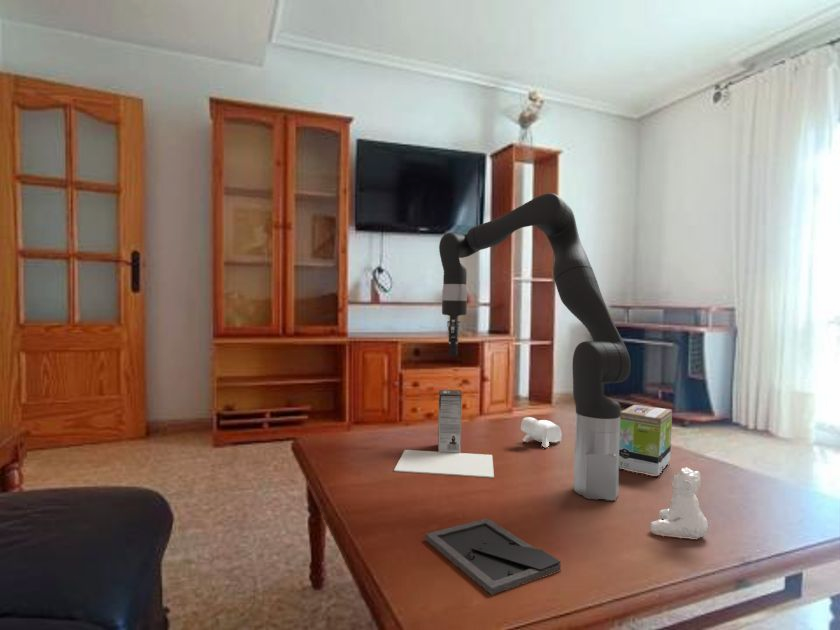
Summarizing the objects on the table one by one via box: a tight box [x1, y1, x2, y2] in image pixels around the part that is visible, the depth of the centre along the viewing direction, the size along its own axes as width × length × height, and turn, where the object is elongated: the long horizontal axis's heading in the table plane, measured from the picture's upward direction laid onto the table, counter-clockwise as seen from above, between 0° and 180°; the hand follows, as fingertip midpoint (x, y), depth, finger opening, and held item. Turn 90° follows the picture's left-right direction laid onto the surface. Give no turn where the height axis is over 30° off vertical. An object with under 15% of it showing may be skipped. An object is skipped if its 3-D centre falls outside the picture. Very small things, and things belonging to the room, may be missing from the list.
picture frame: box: [425, 517, 562, 596], centre depth 77 cm, size 13×2×18 cm
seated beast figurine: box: [650, 466, 709, 539], centre depth 86 cm, size 10×9×12 cm
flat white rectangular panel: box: [393, 449, 495, 479], centre depth 122 cm, size 17×24×1 cm
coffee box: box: [437, 389, 463, 453], centre depth 135 cm, size 9×6×16 cm
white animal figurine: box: [520, 416, 563, 448], centre depth 142 cm, size 9×8×15 cm
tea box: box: [619, 404, 673, 476], centre depth 123 cm, size 15×10×15 cm
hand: (453, 356), depth 145 cm, fingers closed
